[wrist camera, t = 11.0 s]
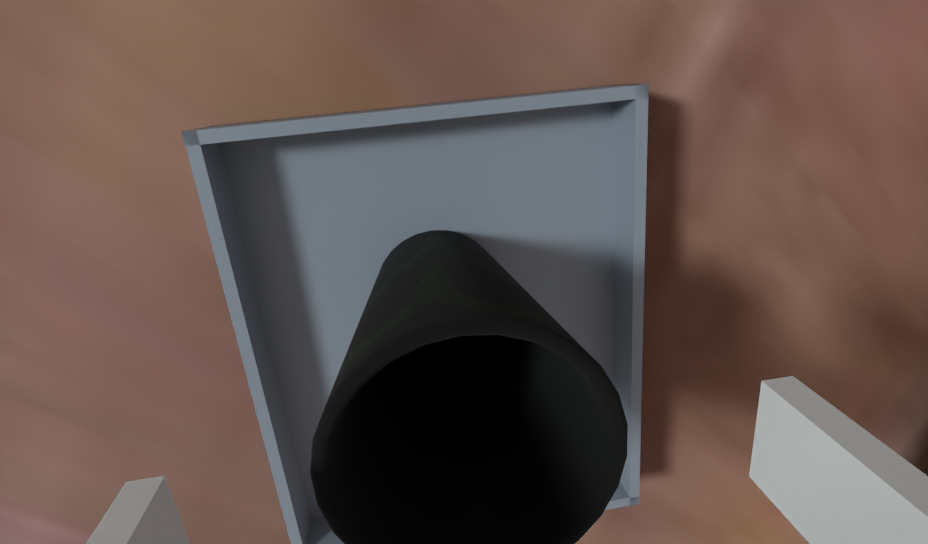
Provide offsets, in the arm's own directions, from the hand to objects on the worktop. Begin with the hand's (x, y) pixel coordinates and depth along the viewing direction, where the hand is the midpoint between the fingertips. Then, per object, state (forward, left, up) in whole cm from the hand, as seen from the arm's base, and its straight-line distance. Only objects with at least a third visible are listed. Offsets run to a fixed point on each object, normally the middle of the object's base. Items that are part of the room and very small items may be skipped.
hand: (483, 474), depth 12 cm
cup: (0, 0, -13) cm, 13 cm away
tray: (+2, 0, -14) cm, 14 cm away
